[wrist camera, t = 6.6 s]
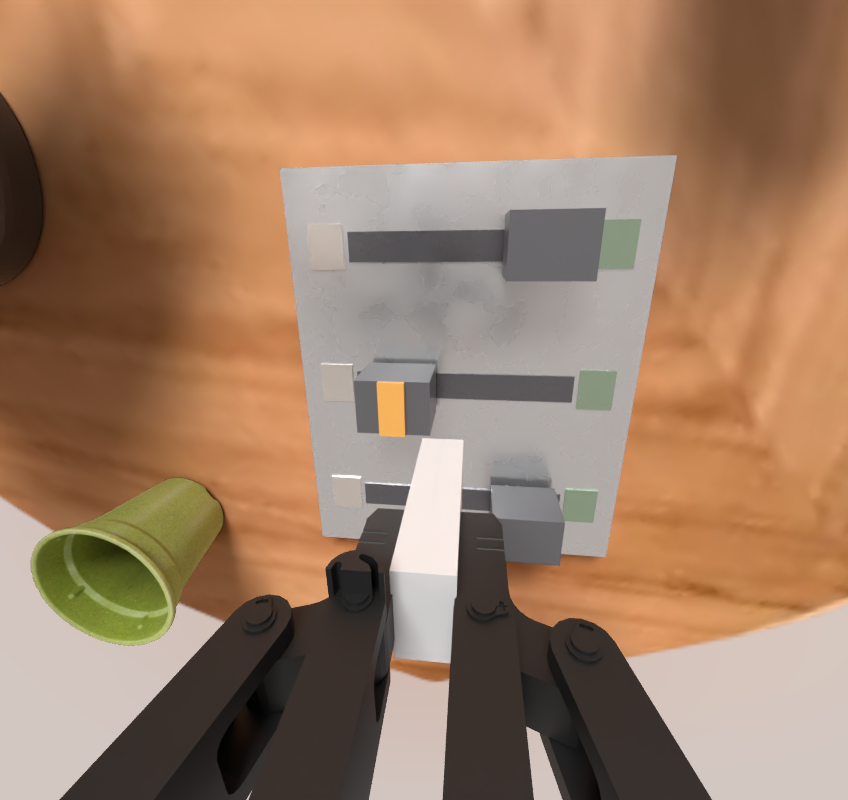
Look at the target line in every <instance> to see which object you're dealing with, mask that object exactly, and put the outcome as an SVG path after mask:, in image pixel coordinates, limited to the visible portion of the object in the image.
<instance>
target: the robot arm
mask: <svg viewBox="0 0 848 800" xmlns="http://www.w3.org/2000/svg"><path fill="white" fill-rule="evenodd" d="M41 223H42V198H41V190H40V183H39V178H38V174H37V170H36V166H35V163H34V160H33V157H32V153H31V151H30V148H29V146H28V143H27V141H26V138H25V136H24V134H23V132H22V130H21V128H20V126H19V124H18V122H17V120H16V118H15V116H14V115H13V113H12V111H11V110H10V108H9V106H8V105H7V103H6V102H5V100H4V99H3V97H2V96H1V95H0V285H2V284H4V283H6V282H8V281H10V280H12V279H13V278H14V277H16V276H17V275H18V274H19V273H20V272H21V271H22V270H23V269H24V268H25V267H26V265H27V264H28V262H29V261H30V259H31V257H32V255H33V253H34V251H35V249H36V246H37V243H38V240H39V236H40V231H41ZM463 441H464V440H456V439H431V438H422V442H421V446H420V450H419V454H418V458H417V462H416V466H415V470H414V474H413V478H412V482H411V486H410V490H409V494H408V498H407V502H406V506H405V510H401V509H384V508H378V509H377V510H376V511H374V512H373V513H372V514H371V515H370V516H369V517H368V518H367V521H366V523H365V526H364V529H363V533H362V534H361V537H360V540H359V543H358V545H357V548H356V550H353V551H348V552H345V553H343V554H340V555H338V556H337V557H336V558H334V559H333V560H331V562H330V563H329V564H328V566H327V567H326V577H327V585H328V593H329V598H327V599H325V600H323V601H321V602H318V603H314V604H310V605H305V606H300V607H295V608H291V606H290V605H289V603H288V601H287V600H286V599H284V598H282V597H281V596H276V595H265V596H259V597H256V598H254V599H252V600H250V601H248V602H246V603H244V604H243V605H242V606H241V607H239V608H238V609H237V610H236V611H235V612H234V613H233V614H232V615H231V616H230V617H229V618H228V619H227V621H226V622H225V623H224V624H223V625H222V626H221V627H220V628H219V629H218V630H217V631H216V632H215V634H213V636H212V637H211V638H210V639H209V640H208V641H207V642H206V643H205V644H204V645H203V646H202V647H201V648H200V649H199V651H198V652H197V653H196V654H195V655H194V656H193V657H192V658H191V659H190V660H189V661H188V662H187V663H186V665H185V666H184V667H183V668H182V669H181V670H180V671H179V672H178V673H177V674H176V675H175V676H174V677H173V678H172V680H171V681H170V682H169V683H168V684H167V685H166V686H165V687H164V688H163V689H162V690H161V691H160V692H159V694H158V695H157V696H156V697H155V698H154V699H153V700H152V701H151V702H150V703H149V704H148V705H147V707H145V709H144V710H143V711H142V712H141V713H140V714H139V715H138V716H137V717H136V718H135V719H134V720H133V721H132V723H131V724H130V725H129V726H128V727H127V728H126V729H125V730H124V731H123V732H122V733H121V734H120V735H119V737H118V738H117V739H116V740H115V741H114V742H113V743H112V744H111V745H110V746H109V747H108V748H107V749H106V751H104V753H103V754H102V755H101V756H100V757H99V758H98V759H97V760H96V761H95V762H94V763H93V764H92V765H91V767H90V768H89V769H88V770H87V771H86V772H85V773H84V774H83V775H82V776H81V777H80V778H79V779H78V781H77V782H76V783H75V784H74V785H73V786H72V787H71V788H70V789H69V790H68V791H67V792H66V793H65V795H64V796H63V797H62V798H61V799H60V800H246V799H247V797H248V796H249V794H250V792H251V791H252V793H251V795H250V798H249V800H369V795H370V789H371V784H372V778H373V773H374V767H375V762H376V756H377V750H378V746H379V740H380V735H381V729H382V724H383V718H384V713H385V708H386V702H387V696H388V691H389V686H390V661H391V656H392V651H394V658H400V659H410V660H420V661H431V662H441V663H450V680H449V698H448V715H447V733H446V751H445V770H444V786H443V800H534V797H533V788H532V779H531V769H530V759H529V749H528V740H527V732H526V726H527V727H529V728H531V729H533V730H535V731H537V732H539V733H540V736H541V739H542V742H543V745H544V747H545V750H546V753H547V756H548V759H549V762H550V765H551V768H552V770H553V773H554V776H555V779H556V782H557V785H558V788H559V791H560V793H561V796H562V799H563V800H712V799H711V797H710V796H709V794H708V793H707V791H706V789H705V788H704V786H703V784H702V783H701V781H700V780H699V778H698V776H697V775H696V773H695V771H694V770H693V768H692V767H691V765H690V763H689V762H688V760H687V758H686V757H685V755H684V754H683V752H682V750H681V749H680V747H679V745H678V744H677V742H676V741H675V739H674V737H673V736H672V734H671V732H670V731H669V729H668V727H667V726H666V724H665V723H664V721H663V720H662V718H661V716H660V714H659V713H658V711H657V710H656V708H655V706H654V705H653V703H652V702H651V700H650V698H649V697H648V695H647V693H646V692H645V690H644V688H643V687H642V685H641V683H640V682H639V680H638V679H637V677H636V676H635V674H634V672H633V671H632V669H631V667H630V666H629V664H628V662H627V661H626V659H625V657H624V656H623V654H622V653H621V651H620V649H619V648H618V646H617V644H616V643H615V641H614V640H613V639H612V638H611V637H610V635H609V634H608V633H607V632H606V631H605V630H603V629H602V628H600V627H599V626H597V625H596V624H595V623H592V622H589V621H586V620H583V619H575V618H568V619H565V620H562V621H559V622H558V623H557V624H556V625H555V626H554V627H550V626H547V625H544V624H542V623H539V622H537V621H534V620H532V619H530V618H528V617H527V616H525V615H524V614H523V613H521V612H520V611H519V610H518V609H517V608H516V607H515V605H514V604H513V602H512V600H511V598H510V595H509V590H508V580H507V570H506V560H505V552H504V541H503V530H502V524H501V523H500V522H499V520H498V519H497V517H496V516H495V515H494V514H491V513H473V512H462V479H463ZM252 789H253V790H252Z"/></svg>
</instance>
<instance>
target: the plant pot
mask: <svg viewBox="0 0 848 800" xmlns="http://www.w3.org/2000/svg"><path fill="white" fill-rule="evenodd" d="M222 526H223V512H222V508H221V506H220V504H219V502H218V501H217V500H215V499H213V498H212V497H211V496H210V495H209V493H208V492H207V490H206V488H205V487H204V486H202V485H200V484H199V483H197V482H194V481H192V480H189V479H184V478H171V479H167V480H165V481H163V482H161V483H158V484H157V485H155V486H153V487H152V488H150V489H148V490H146V491H145V492H143V493H141V494H139V495H137V496H136V497H134V498H132V499H130V500H128V501H127V502H125V503H123V504H121V505H119V506H118V507H116V508H114V509H112V510H110V511H109V512H107V513H105V514H103V515H101V516H100V517H98V518H96V519H94V520H92V521H87V522H84V523H81V524H79V525H77V526H75V527H70V528H64V529H60V530H57V531H55V532H53V533H51V534H49V535H47V536H46V537H44V538H43V539H42V540H40V541H39V542H38V544H37V545H36V547H35V549H34V551H33V554H32V557H31V572H32V575H33V580H34V582H35V585H36V587H37V588H38V589H39V592H40V594H41V596H42V597H43V599H44V600H45V601H46V603H47V604H48V605H49V606H50V607H51V608H52V609H53V610H54V611H55V612H56V613H57V614H58V615H59V616H60V617H62V618H63V619H64V620H65V621H66V622H68V623H69V624H70V625H72V626H73V627H75V628H76V629H78V630H80V631H82V632H84V633H85V634H88V635H90V636H92V637H94V638H97V639H100V640H103V641H106V642H109V643H114V644H118V645H128V646H134V645H142V644H147V643H150V642H152V641H155V640H157V639H159V638H160V637H161V636H163V635H164V634H165V633H166V632H167V631H168V629H169V628H170V626H171V625H172V623H173V620H174V617H175V613H176V606H177V604H178V603H179V601H180V598H181V595H182V590H183V589H184V587H185V585H186V584H187V582H188V581H189V579H190V577H191V576H192V574H193V573H194V571H195V570H196V568H197V566H198V565H199V563H200V562H201V560H202V558H203V557H204V555H205V554H206V552H207V551H208V549H209V548H210V546H211V544H212V543H213V541H214V540H215V538H216V537H217V535H218V533H219V532H220V530H221V528H222Z"/></svg>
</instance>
